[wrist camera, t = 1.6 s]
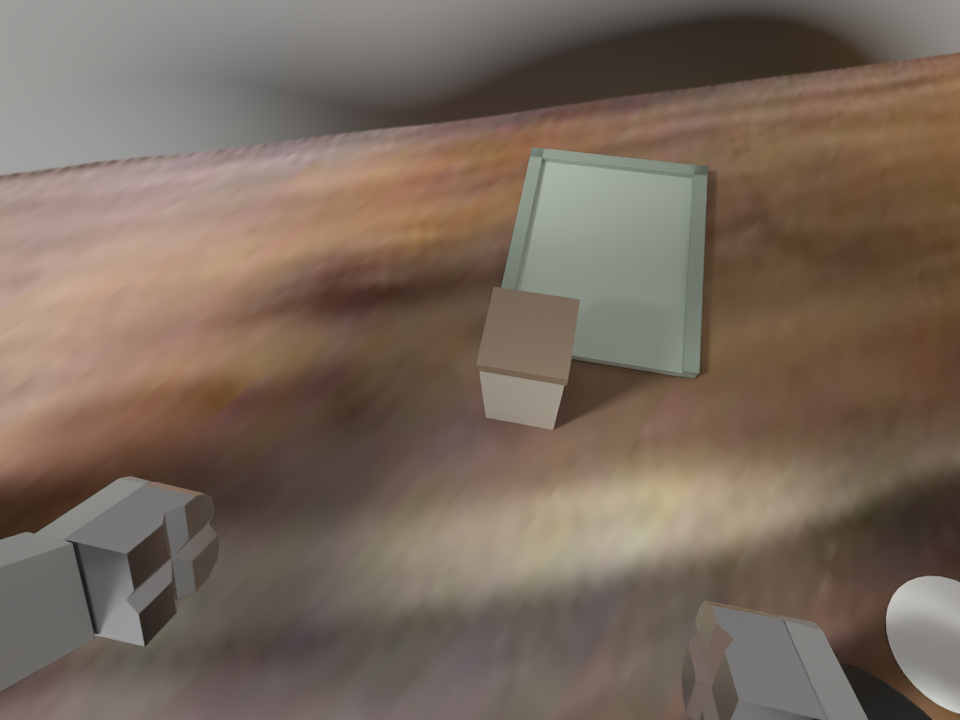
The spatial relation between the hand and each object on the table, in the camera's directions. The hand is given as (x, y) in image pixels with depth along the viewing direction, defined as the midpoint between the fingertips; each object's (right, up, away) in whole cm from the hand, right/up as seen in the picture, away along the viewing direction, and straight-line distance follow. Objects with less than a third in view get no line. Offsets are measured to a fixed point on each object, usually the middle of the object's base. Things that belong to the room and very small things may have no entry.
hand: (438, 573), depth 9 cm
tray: (+10, +11, +31) cm, 34 cm away
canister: (+4, +1, +27) cm, 27 cm away
